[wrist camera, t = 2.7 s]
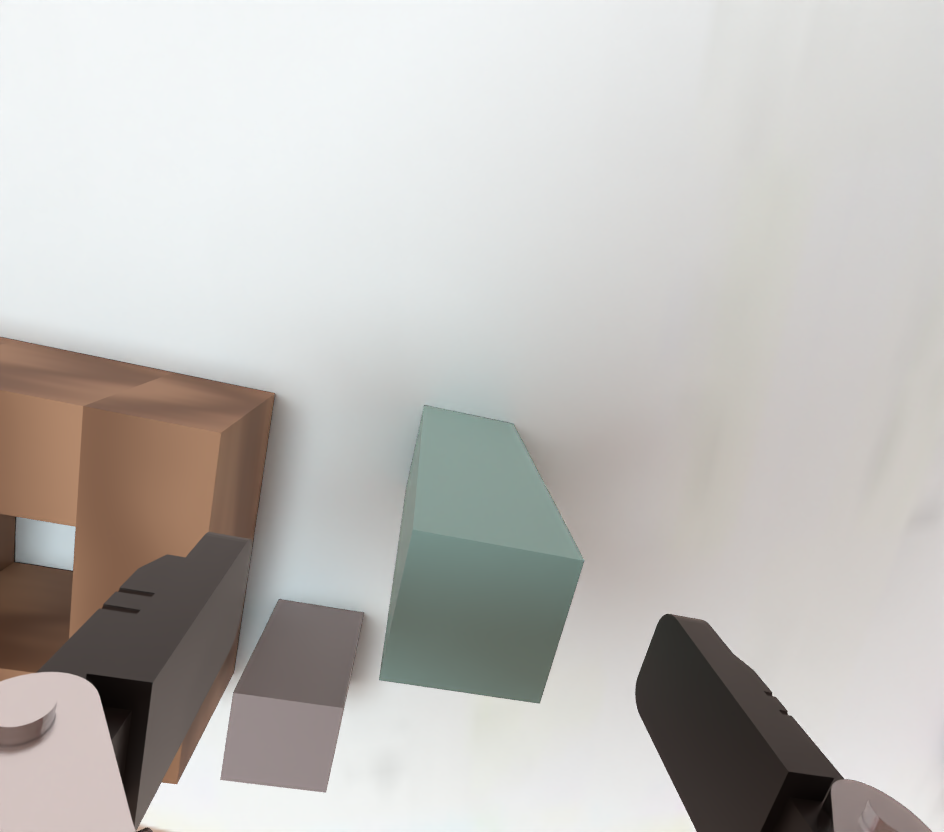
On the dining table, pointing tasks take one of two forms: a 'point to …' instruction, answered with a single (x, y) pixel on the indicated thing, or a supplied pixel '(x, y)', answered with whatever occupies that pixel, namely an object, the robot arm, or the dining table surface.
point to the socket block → (116, 488)
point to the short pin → (292, 698)
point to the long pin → (477, 565)
